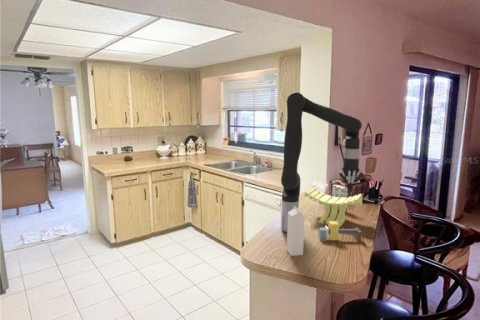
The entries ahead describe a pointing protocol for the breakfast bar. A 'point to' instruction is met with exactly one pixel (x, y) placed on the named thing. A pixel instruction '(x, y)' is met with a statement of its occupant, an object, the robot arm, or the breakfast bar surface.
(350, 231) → the grey slider rail
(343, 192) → the candy bar box
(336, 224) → the yellow sliding collar
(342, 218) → the slatted curved stool
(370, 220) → the breakfast bar surface
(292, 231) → the milk
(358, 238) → the tan flat end block
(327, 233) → the pale beige end plate
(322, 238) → the block
